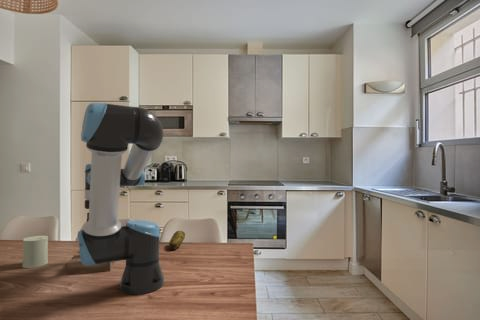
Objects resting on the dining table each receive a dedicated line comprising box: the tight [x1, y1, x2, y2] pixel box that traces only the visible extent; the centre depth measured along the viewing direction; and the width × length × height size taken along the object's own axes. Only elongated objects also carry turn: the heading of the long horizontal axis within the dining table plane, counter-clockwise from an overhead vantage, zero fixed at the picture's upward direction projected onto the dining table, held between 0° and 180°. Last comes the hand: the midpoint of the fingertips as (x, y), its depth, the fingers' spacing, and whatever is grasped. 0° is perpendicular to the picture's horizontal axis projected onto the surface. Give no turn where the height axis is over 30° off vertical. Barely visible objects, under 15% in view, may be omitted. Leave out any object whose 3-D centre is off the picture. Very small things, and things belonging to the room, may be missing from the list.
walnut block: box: [66, 250, 115, 275], centre depth 123 cm, size 16×16×5 cm
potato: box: [168, 230, 186, 251], centre depth 152 cm, size 8×13×8 cm, turn 153°
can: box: [21, 235, 49, 269], centre depth 125 cm, size 9×9×12 cm
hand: (93, 248), depth 124 cm, fingers open, 13 cm apart
